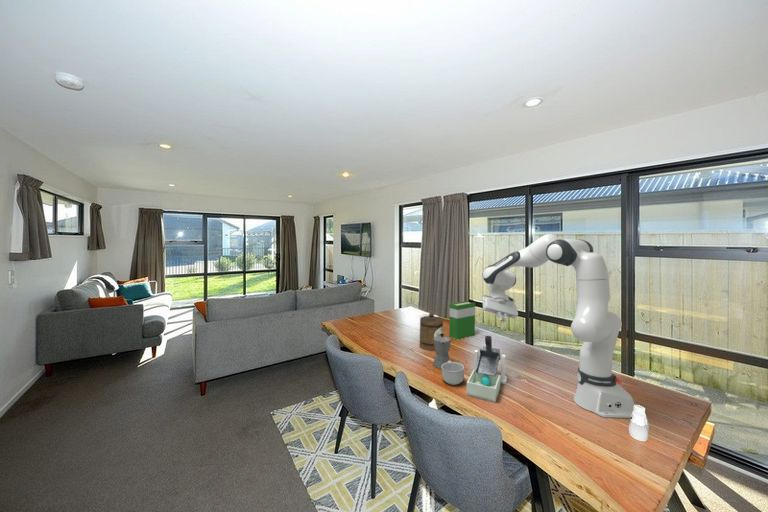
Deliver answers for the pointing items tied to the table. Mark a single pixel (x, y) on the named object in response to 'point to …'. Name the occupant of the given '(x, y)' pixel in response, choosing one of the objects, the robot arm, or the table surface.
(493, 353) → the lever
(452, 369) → the teacup
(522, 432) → the table surface
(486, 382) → the ball
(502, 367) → the lever frame
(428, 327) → the wooden container
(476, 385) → the bin
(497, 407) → the table surface
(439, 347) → the coffeepot
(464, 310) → the cereal box
